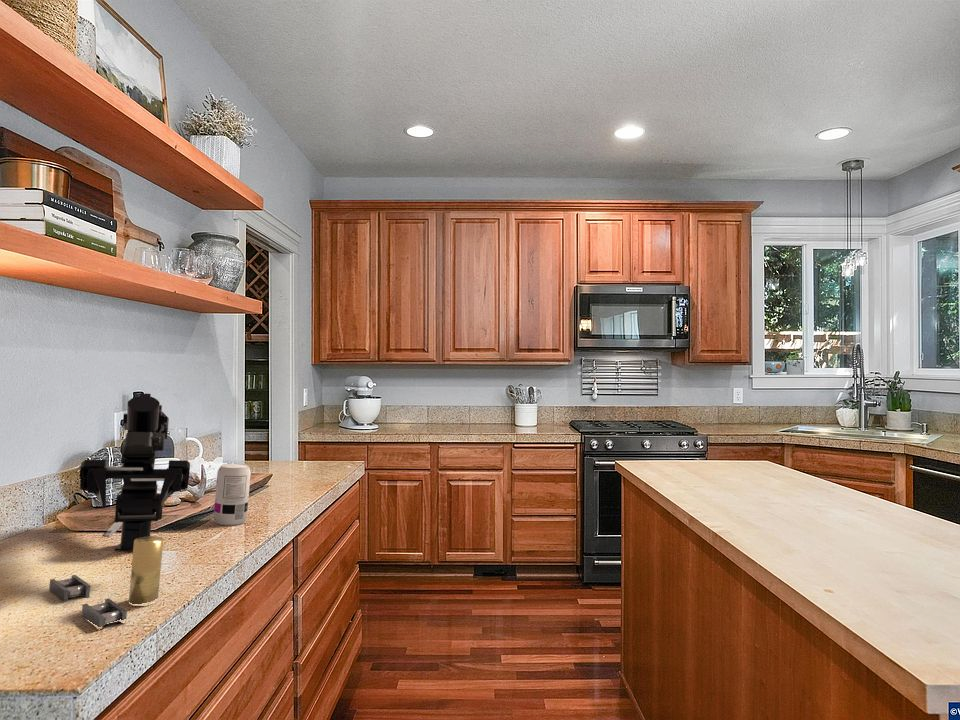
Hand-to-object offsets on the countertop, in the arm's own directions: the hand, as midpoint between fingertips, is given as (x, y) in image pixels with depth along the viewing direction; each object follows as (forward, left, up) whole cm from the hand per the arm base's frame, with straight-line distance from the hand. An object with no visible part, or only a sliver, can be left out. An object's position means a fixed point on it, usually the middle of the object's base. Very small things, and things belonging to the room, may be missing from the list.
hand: (132, 505), depth 114 cm
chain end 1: (+3, -8, -15) cm, 18 cm away
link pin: (+7, +5, -15) cm, 18 cm away
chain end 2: (+14, +1, -15) cm, 21 cm away
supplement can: (-47, +10, -16) cm, 51 cm away
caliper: (-42, -14, -16) cm, 47 cm away
